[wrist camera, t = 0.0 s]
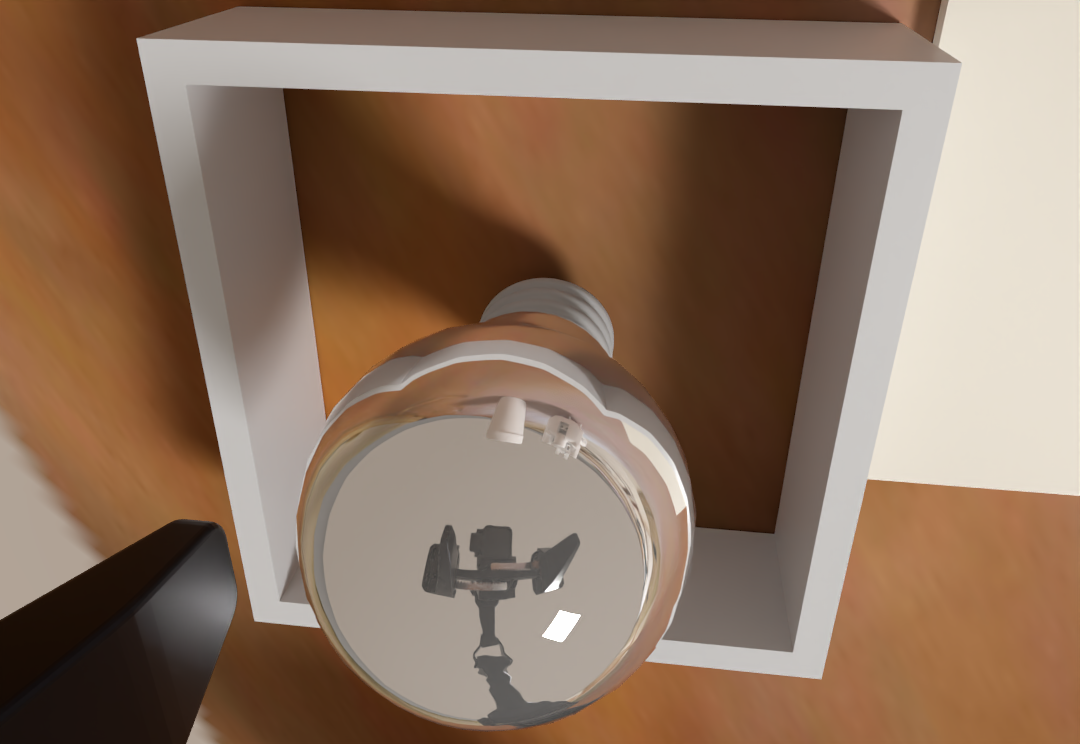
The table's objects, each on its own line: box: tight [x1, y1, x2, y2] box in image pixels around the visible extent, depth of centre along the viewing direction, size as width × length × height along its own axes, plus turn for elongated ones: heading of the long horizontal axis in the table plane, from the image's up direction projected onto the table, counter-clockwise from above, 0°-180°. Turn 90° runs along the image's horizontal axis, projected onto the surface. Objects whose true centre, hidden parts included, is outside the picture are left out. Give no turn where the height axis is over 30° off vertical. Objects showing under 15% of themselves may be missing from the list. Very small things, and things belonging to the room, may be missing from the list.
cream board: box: [867, 0, 1080, 496], centre depth 21 cm, size 12×8×1 cm, turn 0°
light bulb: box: [296, 278, 696, 732], centre depth 18 cm, size 7×7×12 cm
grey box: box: [136, 6, 962, 679], centre depth 21 cm, size 15×15×4 cm
